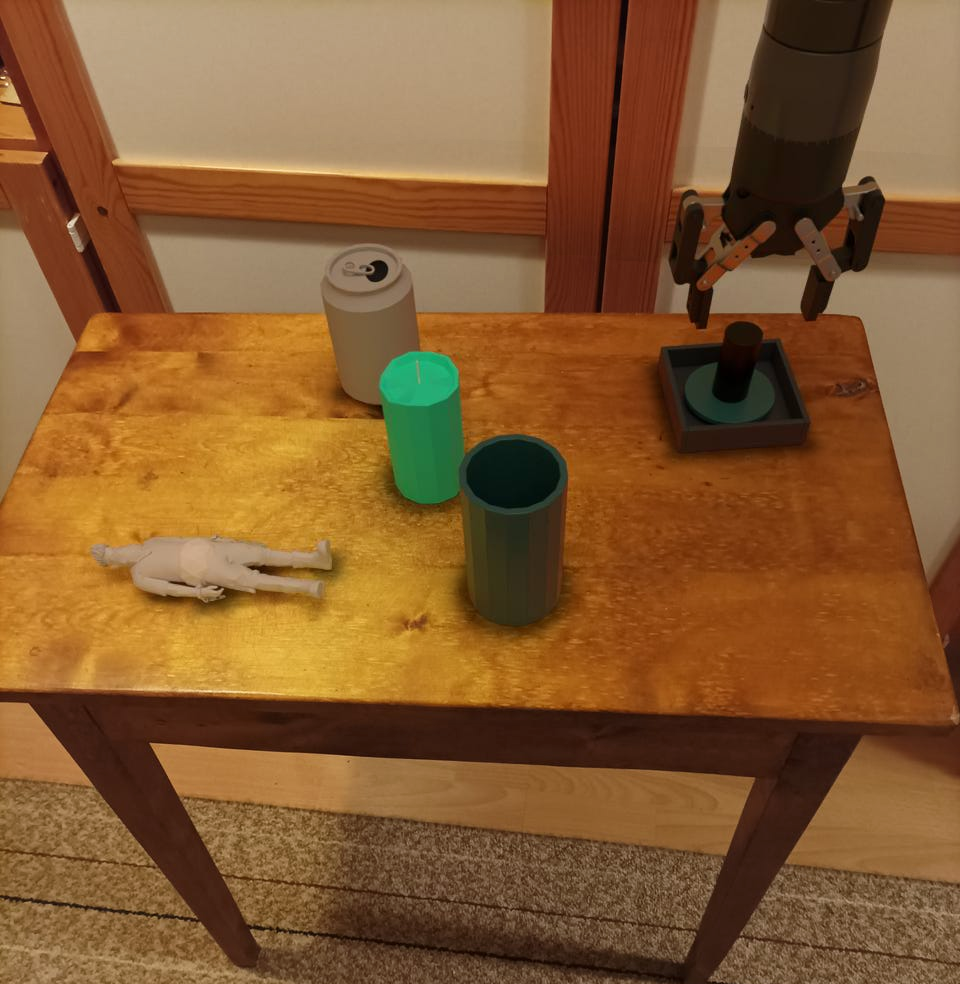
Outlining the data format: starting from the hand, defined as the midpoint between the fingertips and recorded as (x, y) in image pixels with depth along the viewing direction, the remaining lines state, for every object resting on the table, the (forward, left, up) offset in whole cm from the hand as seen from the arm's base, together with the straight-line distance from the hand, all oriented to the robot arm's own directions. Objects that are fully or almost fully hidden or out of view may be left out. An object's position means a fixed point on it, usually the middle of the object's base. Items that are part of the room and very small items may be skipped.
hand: (753, 319), depth 72 cm
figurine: (+43, +15, -9) cm, 47 cm away
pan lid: (+1, 0, -8) cm, 8 cm away
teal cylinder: (+20, +18, -9) cm, 29 cm away
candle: (+26, +6, -9) cm, 29 cm away
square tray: (0, 0, -9) cm, 9 cm away
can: (+30, -6, -9) cm, 32 cm away
